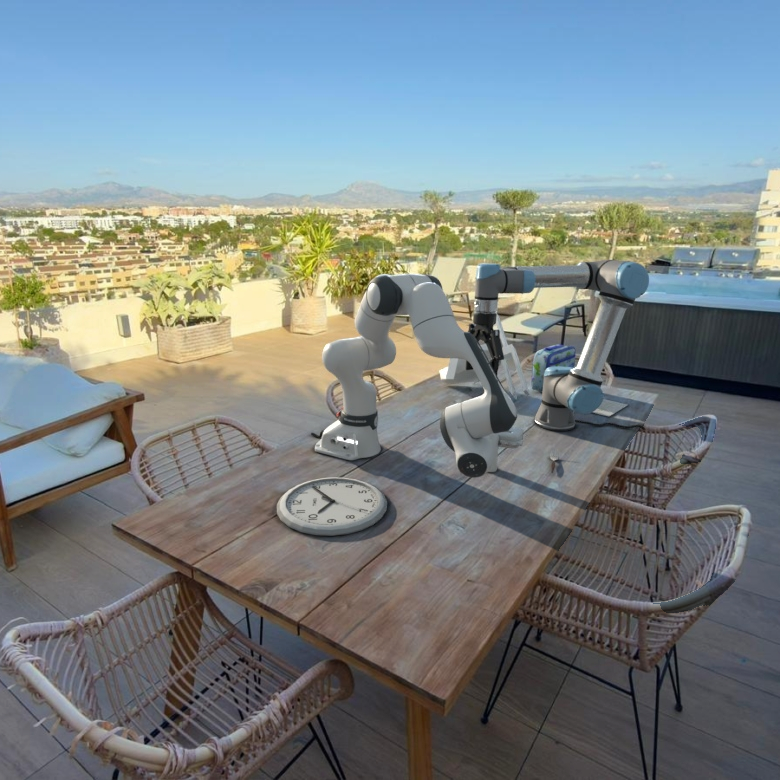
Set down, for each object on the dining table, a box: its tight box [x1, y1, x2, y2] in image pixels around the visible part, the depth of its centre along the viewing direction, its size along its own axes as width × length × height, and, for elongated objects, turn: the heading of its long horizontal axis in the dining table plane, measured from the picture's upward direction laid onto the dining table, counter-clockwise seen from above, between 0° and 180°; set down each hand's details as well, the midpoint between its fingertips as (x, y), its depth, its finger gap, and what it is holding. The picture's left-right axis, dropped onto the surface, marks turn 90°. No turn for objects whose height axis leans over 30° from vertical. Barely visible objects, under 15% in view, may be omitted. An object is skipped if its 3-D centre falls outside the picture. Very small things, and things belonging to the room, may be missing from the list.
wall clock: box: [276, 476, 388, 537], centre depth 142 cm, size 30×2×30 cm
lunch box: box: [530, 344, 577, 392], centre depth 247 cm, size 26×11×21 cm, turn 134°
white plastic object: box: [438, 311, 531, 400], centre depth 245 cm, size 37×45×31 cm
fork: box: [549, 449, 560, 474], centre depth 170 cm, size 3×16×2 cm, turn 160°
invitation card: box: [591, 398, 629, 418], centre depth 226 cm, size 21×1×15 cm
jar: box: [487, 447, 500, 473], centre depth 164 cm, size 5×5×15 cm
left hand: (488, 423), depth 150 cm, fingers open, 8 cm apart
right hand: (480, 374), depth 177 cm, fingers open, 13 cm apart
